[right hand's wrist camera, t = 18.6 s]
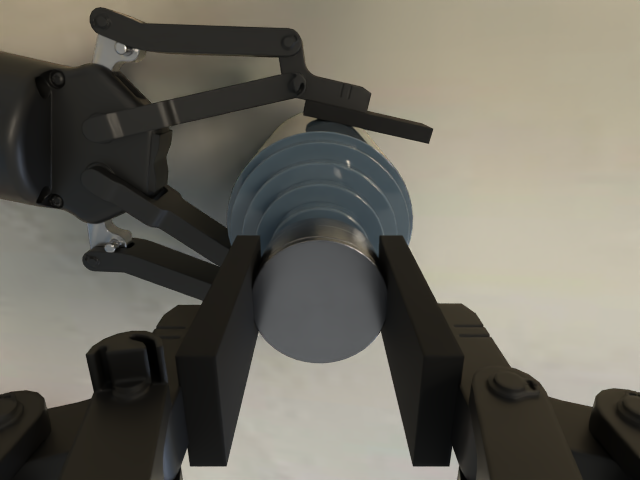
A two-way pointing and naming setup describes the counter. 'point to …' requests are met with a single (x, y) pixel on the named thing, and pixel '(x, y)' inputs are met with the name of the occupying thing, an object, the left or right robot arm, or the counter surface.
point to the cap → (319, 291)
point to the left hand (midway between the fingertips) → (401, 211)
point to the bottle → (319, 183)
